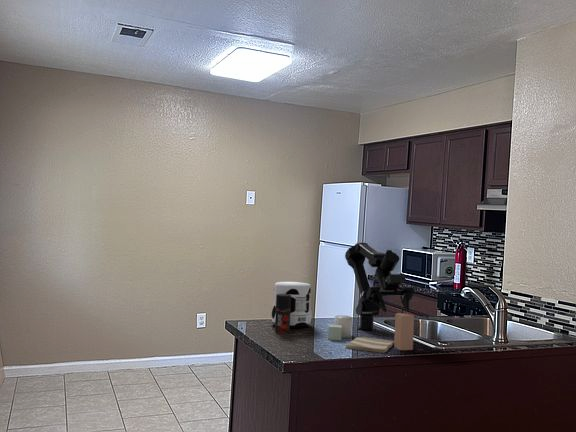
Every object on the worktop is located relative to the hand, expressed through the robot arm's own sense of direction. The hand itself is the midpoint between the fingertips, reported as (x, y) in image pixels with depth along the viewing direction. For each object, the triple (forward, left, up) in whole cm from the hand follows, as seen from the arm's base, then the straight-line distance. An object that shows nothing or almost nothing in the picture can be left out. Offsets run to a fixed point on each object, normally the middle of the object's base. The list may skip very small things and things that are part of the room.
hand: (396, 311), depth 210 cm
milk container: (-9, -47, -13) cm, 50 cm away
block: (+4, -23, -13) cm, 27 cm away
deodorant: (+5, -45, -13) cm, 47 cm away
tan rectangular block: (+5, +4, -12) cm, 14 cm away
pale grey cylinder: (-3, -22, -12) cm, 26 cm away
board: (+9, -7, -12) cm, 17 cm away
